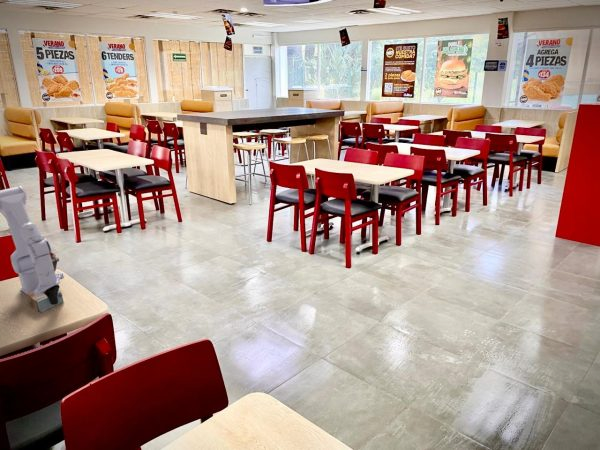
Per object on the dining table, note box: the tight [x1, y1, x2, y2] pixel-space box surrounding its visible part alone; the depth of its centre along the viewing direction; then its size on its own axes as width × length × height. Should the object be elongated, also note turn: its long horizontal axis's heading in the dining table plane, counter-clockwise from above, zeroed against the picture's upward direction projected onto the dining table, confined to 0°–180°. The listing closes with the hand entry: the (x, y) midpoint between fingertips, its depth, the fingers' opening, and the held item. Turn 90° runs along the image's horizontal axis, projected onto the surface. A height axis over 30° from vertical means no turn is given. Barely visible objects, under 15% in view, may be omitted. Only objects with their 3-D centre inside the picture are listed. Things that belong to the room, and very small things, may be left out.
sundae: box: [49, 252, 60, 272], centre depth 190 cm, size 7×7×15 cm
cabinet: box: [25, 289, 61, 313], centre depth 176 cm, size 9×9×5 cm
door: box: [37, 290, 65, 313], centre depth 173 cm, size 2×9×5 cm, turn 143°
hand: (54, 303), depth 172 cm, fingers closed, pressing on door
